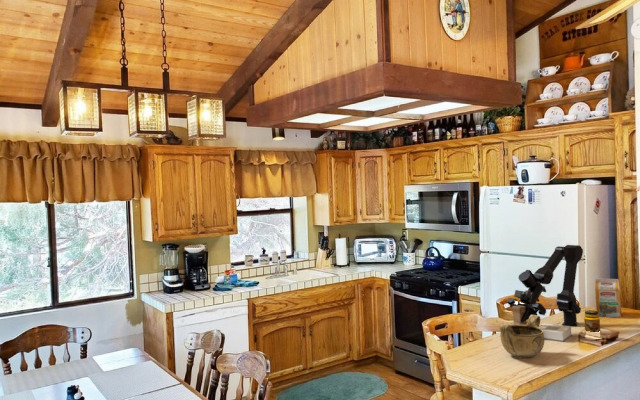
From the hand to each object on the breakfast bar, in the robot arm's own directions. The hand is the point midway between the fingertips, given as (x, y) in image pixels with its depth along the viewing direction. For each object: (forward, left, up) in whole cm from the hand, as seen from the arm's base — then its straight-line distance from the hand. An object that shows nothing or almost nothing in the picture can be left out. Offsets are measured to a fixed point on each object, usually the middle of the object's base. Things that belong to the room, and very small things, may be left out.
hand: (517, 321), depth 235 cm
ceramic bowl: (+27, +9, -8) cm, 29 cm away
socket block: (-6, +14, -7) cm, 17 cm away
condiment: (-11, +29, -8) cm, 32 cm away
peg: (-1, +1, -7) cm, 8 cm away
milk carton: (-57, +31, -8) cm, 65 cm away
